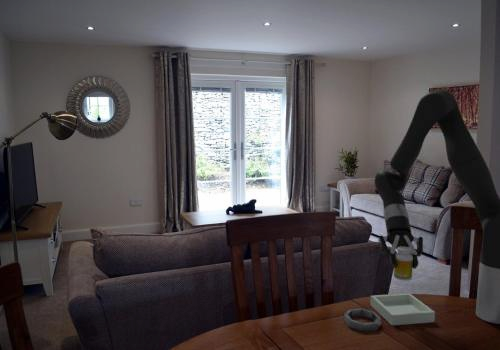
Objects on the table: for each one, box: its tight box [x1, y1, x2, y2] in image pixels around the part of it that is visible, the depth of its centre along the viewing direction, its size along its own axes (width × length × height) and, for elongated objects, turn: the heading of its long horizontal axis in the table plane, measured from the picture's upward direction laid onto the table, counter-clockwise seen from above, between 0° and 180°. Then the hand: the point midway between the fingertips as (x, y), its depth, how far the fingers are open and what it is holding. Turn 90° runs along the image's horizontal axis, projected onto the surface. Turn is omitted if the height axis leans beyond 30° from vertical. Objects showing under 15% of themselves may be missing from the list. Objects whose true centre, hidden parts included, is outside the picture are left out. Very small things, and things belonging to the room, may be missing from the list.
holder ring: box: [343, 308, 382, 332], centre depth 121 cm, size 10×10×2 cm
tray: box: [369, 292, 436, 326], centre depth 127 cm, size 14×14×3 cm
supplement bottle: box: [393, 246, 413, 282], centre depth 125 cm, size 5×5×10 cm
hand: (405, 267), depth 124 cm, fingers closed on supplement bottle, 5 cm apart
